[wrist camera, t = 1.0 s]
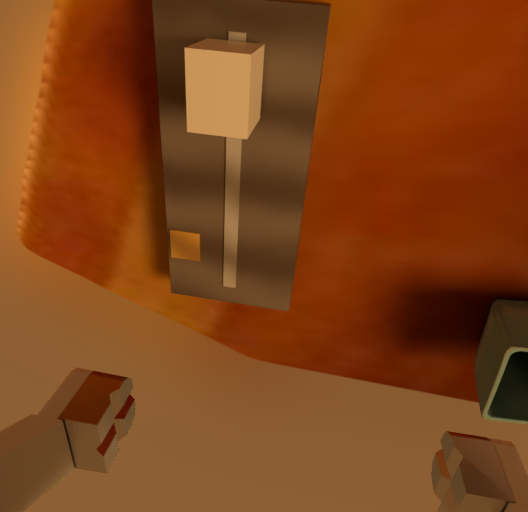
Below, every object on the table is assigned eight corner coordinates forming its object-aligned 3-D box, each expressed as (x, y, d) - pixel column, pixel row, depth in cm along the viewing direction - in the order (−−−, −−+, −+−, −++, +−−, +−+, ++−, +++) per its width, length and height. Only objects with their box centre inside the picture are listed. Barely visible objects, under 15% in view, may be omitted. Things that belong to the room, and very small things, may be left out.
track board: (166, -11, 31) (150, -10, 28) (331, 4, 30) (329, 6, 27) (180, 275, 45) (170, 293, 43) (291, 292, 44) (288, 312, 42)
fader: (207, 38, 29) (184, 47, 25) (264, 44, 29) (251, 54, 24) (207, 112, 32) (187, 132, 28) (259, 118, 31) (247, 139, 27)
